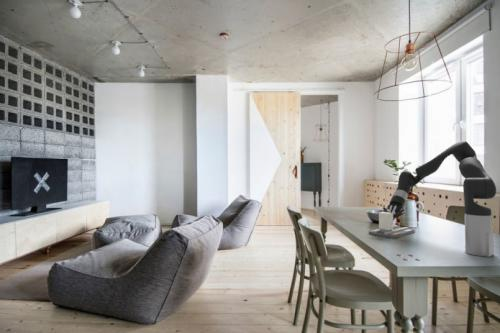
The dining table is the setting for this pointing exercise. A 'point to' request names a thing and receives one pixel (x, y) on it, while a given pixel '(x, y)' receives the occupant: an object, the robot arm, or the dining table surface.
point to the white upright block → (385, 221)
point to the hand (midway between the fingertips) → (388, 222)
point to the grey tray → (393, 232)
